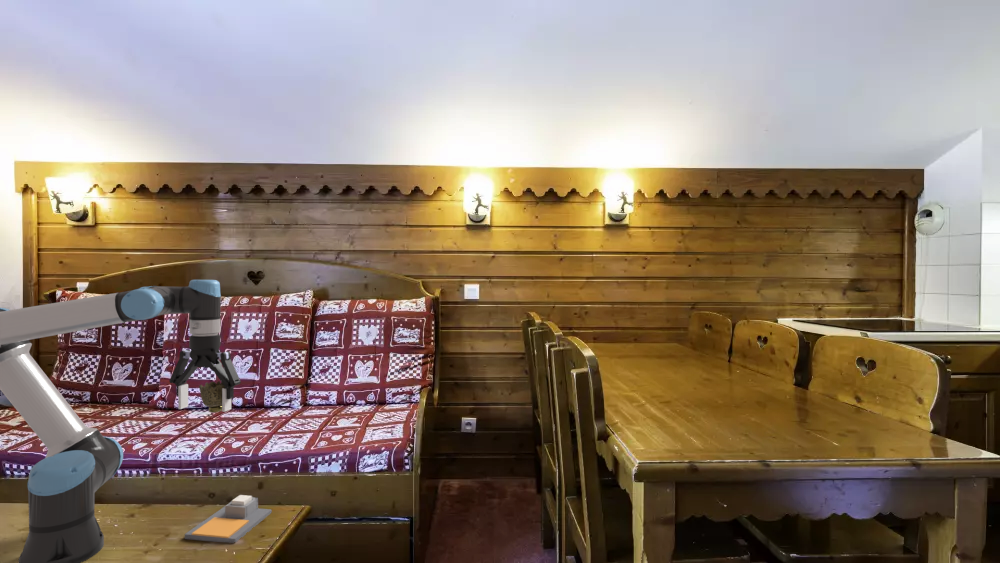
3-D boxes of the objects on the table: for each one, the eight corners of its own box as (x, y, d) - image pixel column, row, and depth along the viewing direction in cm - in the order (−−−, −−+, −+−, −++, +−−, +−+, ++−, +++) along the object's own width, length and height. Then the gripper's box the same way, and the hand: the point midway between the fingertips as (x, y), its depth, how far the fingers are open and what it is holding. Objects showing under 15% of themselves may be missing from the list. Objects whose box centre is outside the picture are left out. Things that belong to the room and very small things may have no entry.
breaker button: (231, 512, 132) (231, 500, 132) (239, 506, 135) (240, 494, 135) (243, 513, 131) (243, 501, 131) (251, 507, 135) (251, 495, 134)
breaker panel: (184, 538, 122) (184, 522, 122) (225, 509, 137) (225, 495, 137) (235, 543, 120) (235, 526, 120) (271, 513, 135) (271, 498, 135)
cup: (217, 415, 132) (215, 386, 132) (194, 415, 133) (192, 386, 133) (237, 407, 139) (235, 380, 139) (215, 407, 140) (213, 380, 140)
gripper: (154, 334, 134) (154, 410, 134) (236, 337, 131) (236, 415, 131) (175, 331, 141) (175, 403, 142) (254, 333, 138) (253, 407, 139)
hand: (204, 409), depth 136 cm, fingers open, 13 cm apart
